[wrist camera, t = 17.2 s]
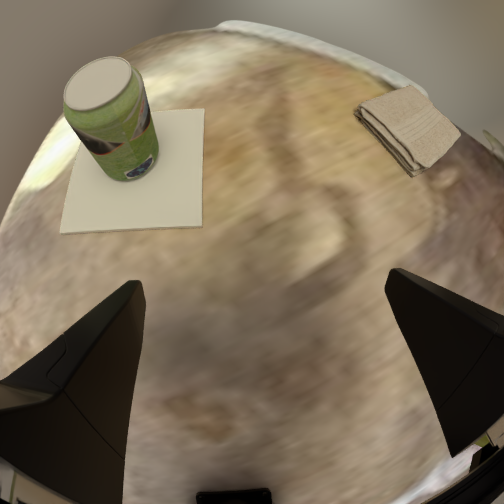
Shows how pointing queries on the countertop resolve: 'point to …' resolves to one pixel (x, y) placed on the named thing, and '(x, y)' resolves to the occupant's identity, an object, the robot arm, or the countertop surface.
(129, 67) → the beverage can
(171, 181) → the cream mat
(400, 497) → the countertop surface
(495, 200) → the countertop surface
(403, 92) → the washcloth
